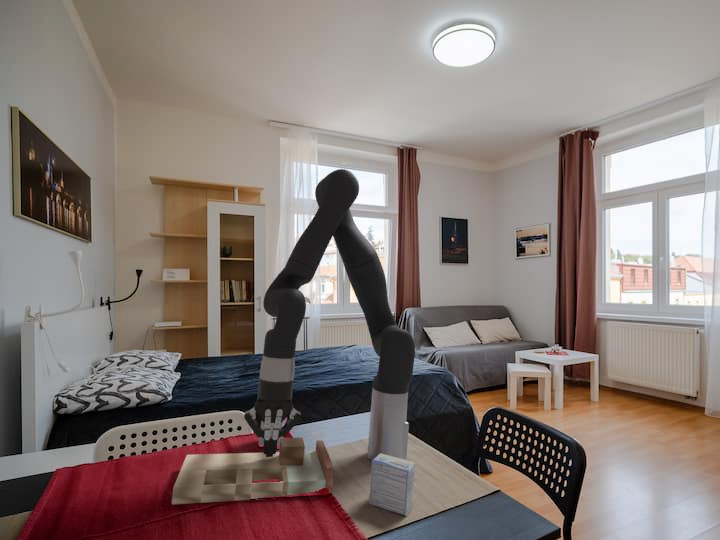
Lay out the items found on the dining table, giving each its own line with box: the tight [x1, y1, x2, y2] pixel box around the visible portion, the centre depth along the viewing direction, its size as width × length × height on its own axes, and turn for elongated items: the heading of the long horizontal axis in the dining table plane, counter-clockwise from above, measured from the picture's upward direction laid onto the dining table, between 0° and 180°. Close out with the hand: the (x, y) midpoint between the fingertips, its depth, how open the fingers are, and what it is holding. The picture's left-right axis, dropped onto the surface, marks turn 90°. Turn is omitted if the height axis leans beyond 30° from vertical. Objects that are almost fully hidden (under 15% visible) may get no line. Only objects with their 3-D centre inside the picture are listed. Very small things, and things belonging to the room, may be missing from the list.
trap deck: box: [171, 439, 335, 505], centre depth 81 cm, size 30×14×6 cm, turn 105°
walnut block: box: [278, 437, 306, 466], centre depth 85 cm, size 5×5×4 cm
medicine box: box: [368, 453, 416, 517], centre depth 76 cm, size 8×4×9 cm, turn 65°
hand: (268, 455), depth 84 cm, fingers closed
